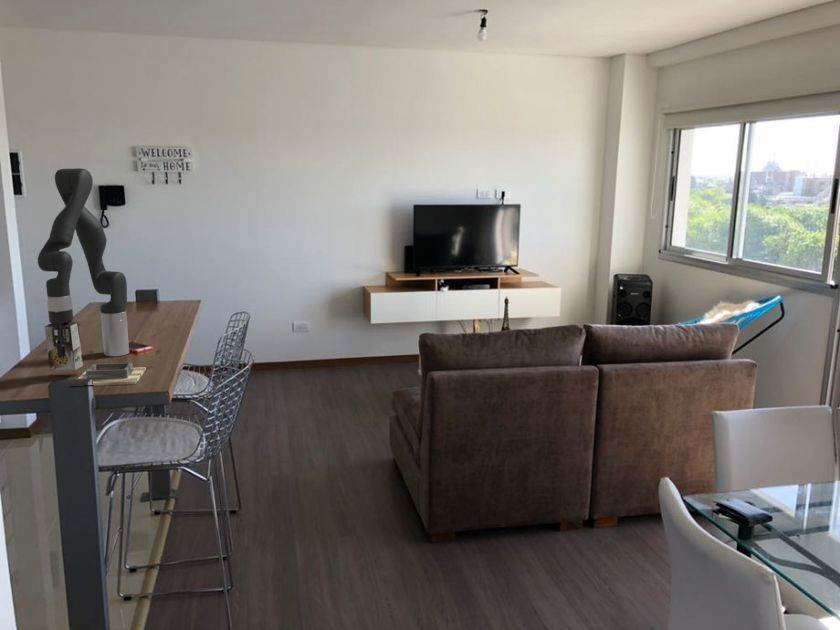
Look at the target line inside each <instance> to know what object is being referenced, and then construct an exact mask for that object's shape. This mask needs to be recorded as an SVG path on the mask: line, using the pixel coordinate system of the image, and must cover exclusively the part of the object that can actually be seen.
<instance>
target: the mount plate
mask: <svg viewBox="0 0 840 630" xmlns="http://www.w3.org/2000/svg"><path fill="white" fill-rule="evenodd" d="M146 370H147V367H146V366H144V367H143V366H142V367H141V366H140V367H134V363H133V362H114V363H111V362H110V363H107V362H105V363H93V364H92V365H91V366H90V367H89V368H88V369H85V371H84V372H83V373H81V375H80V376H79V377H77V379H92V380H93V385H94V386H95V387H97V386H98V387H100V386H119V385H120V386H121V385H122V386H124V385H136V384H137V383H138V382H139V380H140V379H141V377H142V376H143V375H144V373H145V372H146ZM94 386H93V387H94Z"/></svg>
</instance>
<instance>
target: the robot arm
mask: <svg viewBox="0 0 840 630" xmlns="http://www.w3.org/2000/svg"><path fill="white" fill-rule="evenodd" d="M54 182H55V183H54V184H55V186H56V190H57V192H58V193H59V196H60V197H61V199H62V201H63V203H64V207H63V209H62V210H60V211H59V213H58V214H57V215H56V217H55V218H54V220H53V223H52V226H51V230H50V234H49V237H48V239H47V240H46V242H45V243H44V245H43V246H42V248H41V249H40V251H39V254H38V257H37V265H38V267H39V269H40V270H41V271H43V272H53V273H54V272H57V276H56V277H53V278H50V279H47V280H46V282H45V286H46V295H47V300H46V301H47V311H48V321H49V324H51V323H54V324H55V330H52V336H53V343H54V347H57V353H58V357H65V347H64V340H65V337H63V338H62V336H61V334H62V332H63V328H62V326H63V325H64V324H66V323H68V322H74V312H73V302H72V298H71V291H70V290H71V289H70V279H71V273H72V269H73V258H72V255H71V254H70V253H69V252H68V251H65V250H63V249H67V248H69V247H71V245H72V242H73V239H74V236H75V235H74V234H75V232H76V236H77V238H78V241H79V244H80V246H81V249H82V251H83V254H84V257H85V259H86V262H87V266H88V270H89V274H90V277H91V278H90V279H91V281H92V286H93V289H94V290H95V291H96V293H98V294H100V295H104V296H105V295H108V296H110V300H109V301H107V302H106V303H103V304H101V305H100V307H99V308H100V309H99V311H100V319H101V320H100V322H101V333H102V335H101V336H102V345H103V346H102V347H103V355H104V356H106V357H121V356H125V355H127V354H129V353H130V347H129V333H128V332H129V331H128V330H129V329H128V319H127V318H128V317H127V304H128V284H127V278H126V276H125V274H124V273H123V272H122V271H115V270H113V271H111V270H110V271H109V270H106V267H105V265H104V262H103V257H104V253H105V251H106V246H107V237H106V233H105V230H104V228H103V224H102V223H101V221H99V219H98V218H97V217H96V216H95V215H94V214H93V213H92V212H91V211H90V210H89V209H88V208H86V207H85V205H86V203H87V201H88V199H89V196H90V194H91V192H92V188H93V183H94V181H93V176H92V174H91V172H90V171H89V170H88V169H86V168H61V169H57V171H56V172H55V174H54ZM58 341H59V342H60V343H58Z"/></svg>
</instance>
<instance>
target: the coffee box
mask: <svg viewBox="0 0 840 630" xmlns="http://www.w3.org/2000/svg"><path fill="white" fill-rule="evenodd" d="M79 325H80V324H79V322H78V321H71V322H68V323H66V324H64V325H63V326H62V328H63V332H62V334H61V336H62V338H63V337H65V340H64V347H65V357H58V353H57V347H54V343H53V336H52V330H55V324H54V323H49V324H47V325H44V333H45V339H46V348H47V355H48V365H49V371H76V370H78V369H80V368H81V367H83V366H84V362H83V361H84V360H83V354H82V353H83V352H82V344H81V336H80V327H79ZM58 343H60V342H59V341H58Z"/></svg>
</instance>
